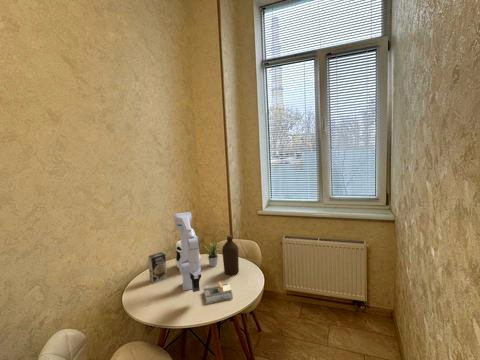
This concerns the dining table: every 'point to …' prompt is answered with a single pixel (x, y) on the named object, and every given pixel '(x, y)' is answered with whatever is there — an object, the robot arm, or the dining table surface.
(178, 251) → the milk container
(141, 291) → the dining table surface
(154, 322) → the dining table surface
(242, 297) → the dining table surface
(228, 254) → the olive oil
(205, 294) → the socket
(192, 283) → the plug
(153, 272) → the coffee box
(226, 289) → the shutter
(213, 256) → the house plant
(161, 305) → the dining table surface
